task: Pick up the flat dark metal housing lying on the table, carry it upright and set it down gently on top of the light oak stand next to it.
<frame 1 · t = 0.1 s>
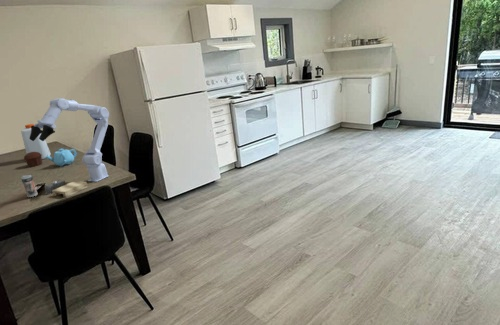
hand: (36, 140, 158), 32 cm above the table, tool tilted 50°, fingers open, 7 cm apart
teapot: (64, 164, 233), on the table
muffin: (35, 165, 241), on the table
housing: (56, 189, 181), on the table
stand: (71, 191, 176), on the table
beer can: (33, 196, 175), on the table
plastic bottle: (40, 158, 260), on the table
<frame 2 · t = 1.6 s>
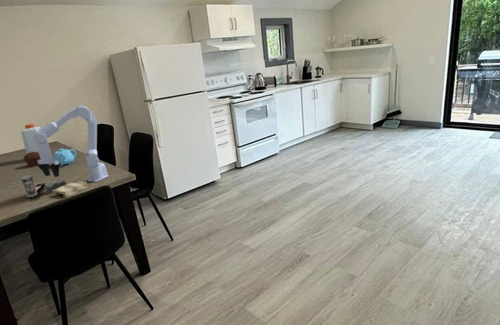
hand: (52, 176, 179), 8 cm above the table, tool pointing down, fingers open, 7 cm apart
nothing on the table moved.
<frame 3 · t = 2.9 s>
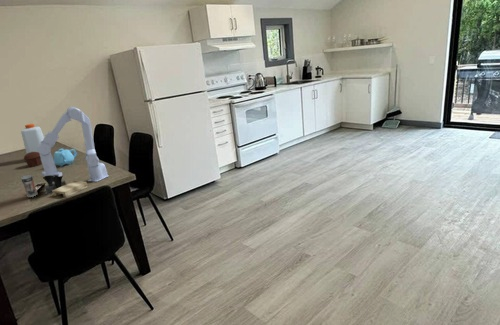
hand: (56, 187, 181), 1 cm above the table, tool pointing down, fingers closed on housing, 5 cm apart
housing: (56, 189, 181), on the table, touching gripper
everything else where it was.
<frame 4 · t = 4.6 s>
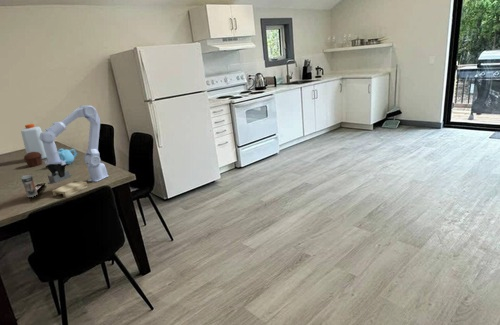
hand: (59, 176, 177), 8 cm above the table, tool pointing down, fingers closed on housing, 5 cm apart
housing: (60, 179, 177), point 6 cm above the table, touching gripper
everything else where it was.
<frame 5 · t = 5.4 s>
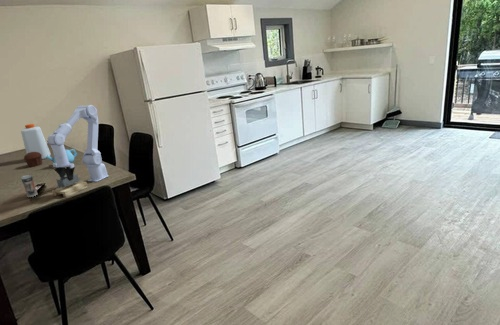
hand: (67, 179, 174), 7 cm above the table, tool pointing down, fingers closed on housing, 5 cm apart
housing: (68, 183, 175), point 5 cm above the table, touching gripper
everything else where it was.
when the fingers open (5 cm above the table, at t = 6.2 s): housing stays where it is, resting on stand.
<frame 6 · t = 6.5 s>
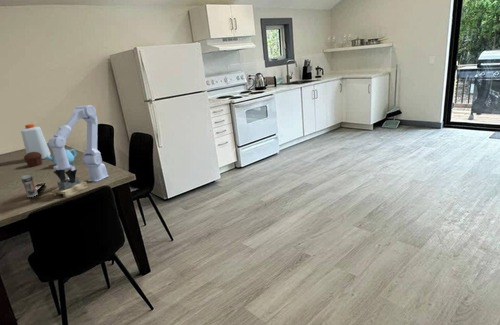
hand: (68, 182, 175), 5 cm above the table, tool pointing down, fingers open, 7 cm apart
housing: (69, 186, 176), point 3 cm above the table, touching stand
everything else where it was.
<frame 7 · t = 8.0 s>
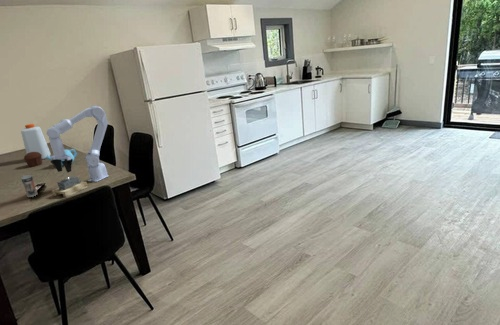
hand: (64, 171, 181), 9 cm above the table, tool pointing down, fingers open, 7 cm apart
nothing on the table moved.
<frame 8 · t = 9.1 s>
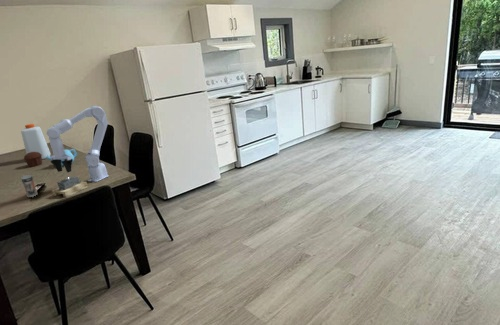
hand: (64, 171, 181), 9 cm above the table, tool pointing down, fingers open, 7 cm apart
nothing on the table moved.
at the end: housing 0.0 cm off-centre on the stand, point 3.0 cm above the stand's base; housing tilted 0°; the gripper is holding nothing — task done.
